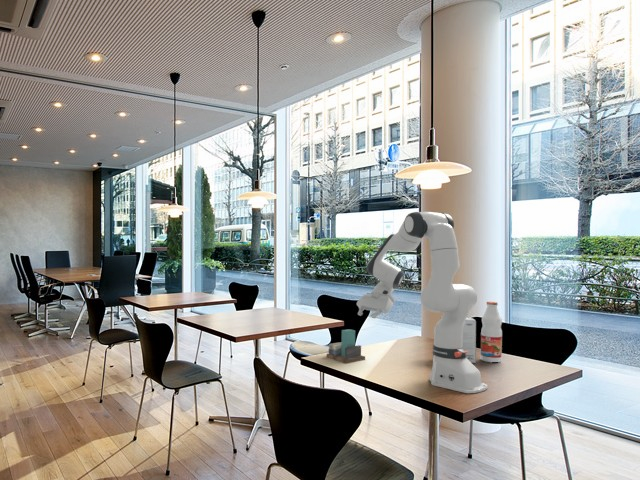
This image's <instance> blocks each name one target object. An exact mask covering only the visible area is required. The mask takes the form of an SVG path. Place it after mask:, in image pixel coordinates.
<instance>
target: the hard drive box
mask: <svg viewBox="0 0 640 480" xmlns="http://www.w3.org/2000/svg"><path fill="white" fill-rule="evenodd" d="M441 318H442V317H440V319H441ZM440 319H439V320H440ZM476 342H477V321H476V319H474V318H473V317H467V318H466V320H465V324H464V328H463V348H464V350H465V351H468V352H467V353H468V354H466V358H467V359H468V360H469V361H470V362H471V363H472V364H476V363H477V360H476V359H477V354H476V353H477V351H476V350H477V343H476Z"/></svg>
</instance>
